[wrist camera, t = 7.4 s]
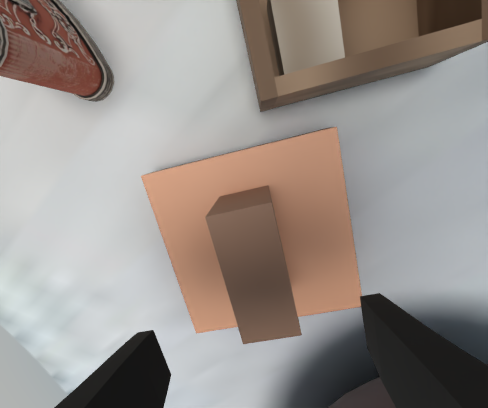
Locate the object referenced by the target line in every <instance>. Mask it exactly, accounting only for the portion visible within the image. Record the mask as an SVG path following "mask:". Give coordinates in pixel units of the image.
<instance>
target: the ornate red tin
mask: <svg viewBox="0 0 488 408" xmlns="http://www.w3.org/2000/svg"><path fill="white" fill-rule="evenodd" d="M0 76H3V77H7V78H11V79H15V80H19V81H23V82H28V83H32V84H36V85H40V86H44V87H48V88H52V89H57V90H61V91H65V92H69V93H73V94H74V95H75V96H77V97H79V98H81V99H85V100H89V101H100V100H103V99H105V98H106V97H107V96H108V95H109V94H110V92H111V91H112V88H113V84H114V77H113V74H112V71H111V69H110V67H109V65H108V64H107V62H106V60H105V59H104V57H103V55H102V54H101V52H100V50H99V49H98V47H97V45H96V44H95V43H94V41H93V40H92V39H91V37H90V36H89V34H88V33H87V32H86V30H85V29H84V28H83V26H82V25H81V24H80V22H79V21H78V20H77V19H76V18H75V17H74V16H73V15H72V13H71V12H70V11H69V10H68V9H67V8H66V7H65V6H64V5H63V4H62V3H61V2H60V1H59V0H0Z"/></svg>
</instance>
